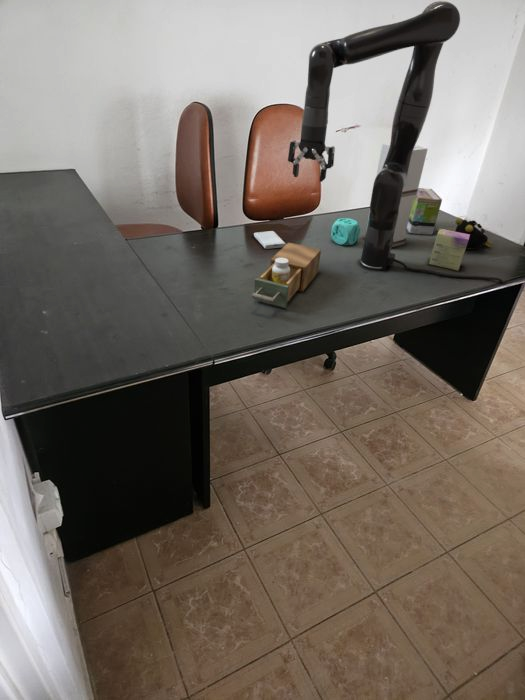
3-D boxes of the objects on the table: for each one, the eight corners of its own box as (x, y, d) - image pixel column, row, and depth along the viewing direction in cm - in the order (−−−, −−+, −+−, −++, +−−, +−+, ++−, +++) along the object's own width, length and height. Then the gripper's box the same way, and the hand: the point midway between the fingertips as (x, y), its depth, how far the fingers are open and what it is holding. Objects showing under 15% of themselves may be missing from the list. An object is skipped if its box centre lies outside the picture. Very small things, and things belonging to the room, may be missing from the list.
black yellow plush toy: (484, 263, 182) (492, 234, 170) (446, 255, 188) (451, 226, 176) (494, 242, 187) (501, 213, 174) (456, 234, 193) (461, 205, 181)
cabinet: (302, 292, 148) (305, 267, 143) (268, 283, 151) (270, 259, 146) (317, 272, 159) (321, 249, 155) (286, 265, 163) (288, 242, 158)
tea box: (433, 235, 194) (443, 199, 185) (408, 233, 193) (417, 197, 185) (423, 222, 206) (432, 187, 197) (400, 220, 206) (408, 186, 197)
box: (460, 265, 171) (470, 233, 164) (458, 271, 166) (468, 239, 159) (431, 258, 174) (439, 227, 167) (428, 264, 170) (437, 233, 163)
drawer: (278, 316, 133) (279, 295, 129) (245, 308, 136) (246, 287, 132) (302, 287, 148) (304, 267, 144) (272, 280, 151) (273, 260, 148)
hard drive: (253, 232, 182) (265, 244, 172) (273, 230, 184) (286, 242, 175) (253, 236, 183) (265, 249, 173) (273, 234, 185) (285, 247, 176)
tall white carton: (404, 243, 184) (427, 148, 164) (385, 248, 179) (406, 151, 159) (383, 233, 192) (402, 141, 172) (364, 238, 187) (382, 143, 167)
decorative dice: (346, 247, 178) (350, 227, 174) (329, 241, 183) (332, 221, 178) (358, 242, 183) (361, 222, 179) (341, 236, 188) (344, 216, 183)
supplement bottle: (291, 292, 143) (294, 262, 138) (275, 294, 141) (277, 265, 136) (283, 284, 147) (286, 255, 142) (268, 286, 145) (269, 257, 140)
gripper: (287, 122, 141) (283, 178, 150) (333, 128, 136) (326, 185, 146) (296, 118, 146) (292, 172, 156) (341, 124, 142) (333, 179, 151)
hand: (308, 178), depth 151 cm, fingers open, 8 cm apart
